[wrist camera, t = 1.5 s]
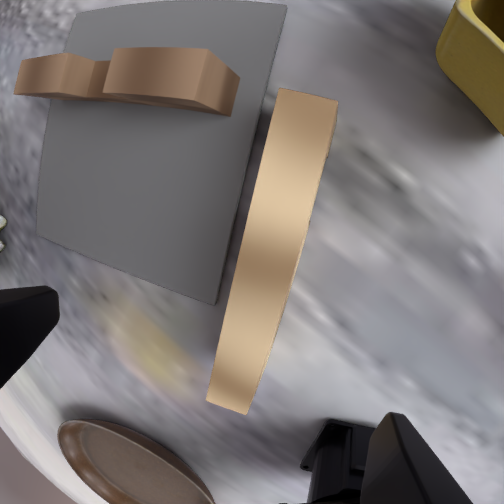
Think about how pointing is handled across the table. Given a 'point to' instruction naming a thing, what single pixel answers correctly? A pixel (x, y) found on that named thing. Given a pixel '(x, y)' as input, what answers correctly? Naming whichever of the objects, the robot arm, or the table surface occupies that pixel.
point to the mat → (157, 148)
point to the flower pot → (476, 54)
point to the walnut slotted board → (135, 79)
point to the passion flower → (0, 224)
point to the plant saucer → (128, 465)
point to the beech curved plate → (271, 243)
